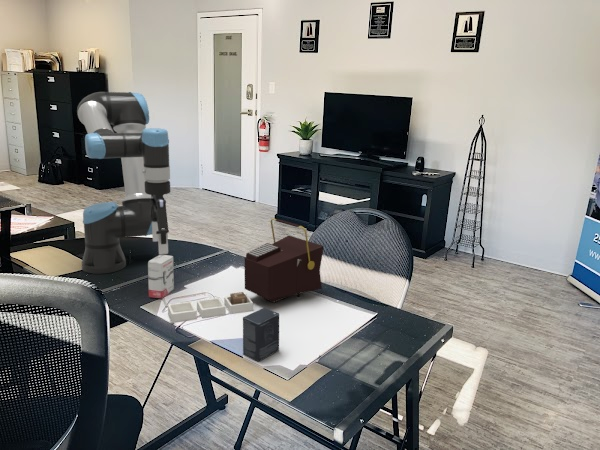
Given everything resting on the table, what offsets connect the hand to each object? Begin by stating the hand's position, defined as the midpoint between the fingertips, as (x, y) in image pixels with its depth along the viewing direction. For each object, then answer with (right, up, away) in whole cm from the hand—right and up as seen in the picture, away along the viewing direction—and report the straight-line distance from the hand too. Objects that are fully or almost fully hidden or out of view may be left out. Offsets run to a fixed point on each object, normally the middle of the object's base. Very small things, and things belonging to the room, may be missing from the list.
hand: (160, 247), depth 157 cm
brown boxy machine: (+38, -17, +5) cm, 42 cm away
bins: (+17, -19, -8) cm, 27 cm away
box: (+34, -26, -29) cm, 52 cm away
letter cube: (+25, -18, -5) cm, 31 cm away
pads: (+13, -16, +3) cm, 21 cm away
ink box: (-1, -15, +4) cm, 16 cm away
